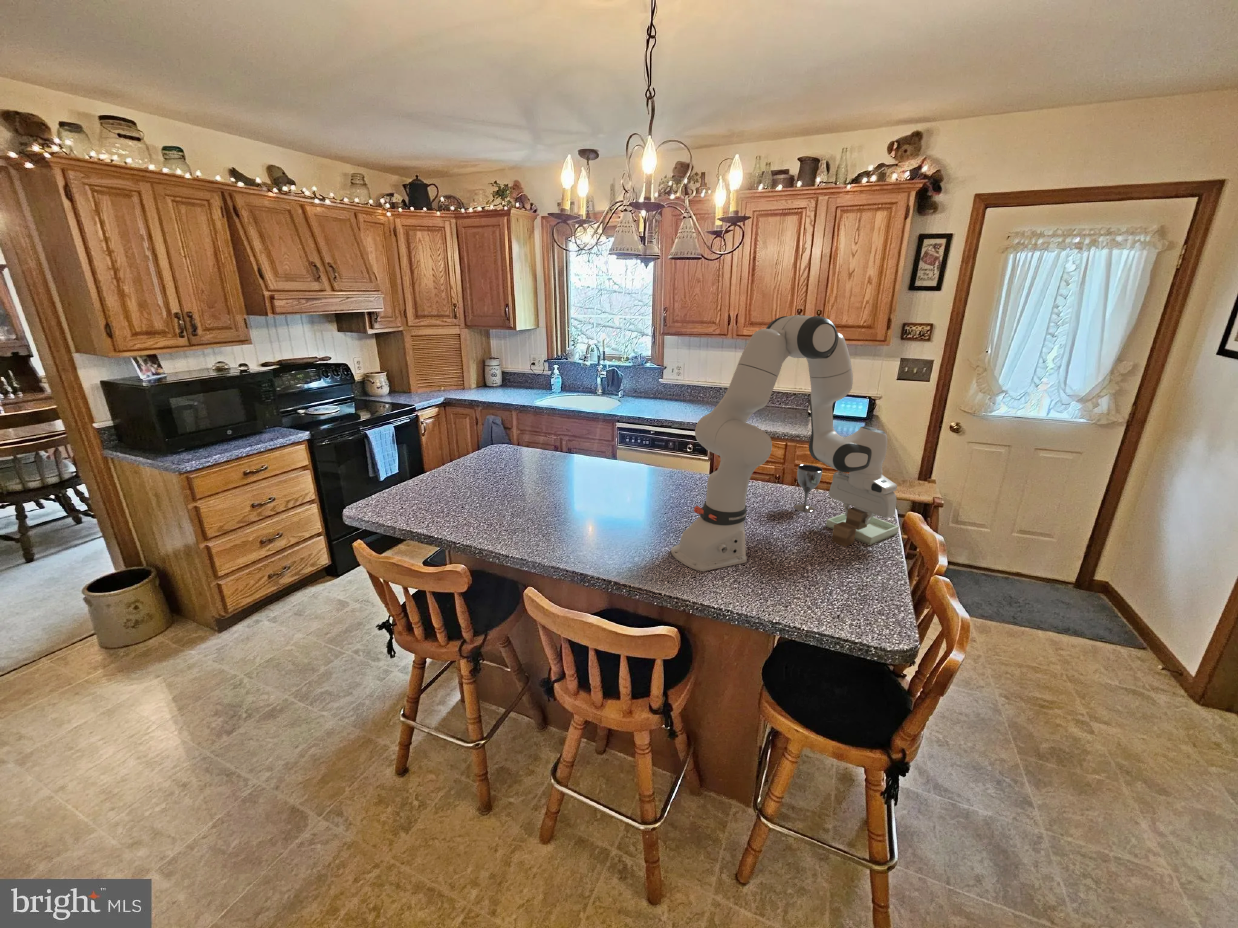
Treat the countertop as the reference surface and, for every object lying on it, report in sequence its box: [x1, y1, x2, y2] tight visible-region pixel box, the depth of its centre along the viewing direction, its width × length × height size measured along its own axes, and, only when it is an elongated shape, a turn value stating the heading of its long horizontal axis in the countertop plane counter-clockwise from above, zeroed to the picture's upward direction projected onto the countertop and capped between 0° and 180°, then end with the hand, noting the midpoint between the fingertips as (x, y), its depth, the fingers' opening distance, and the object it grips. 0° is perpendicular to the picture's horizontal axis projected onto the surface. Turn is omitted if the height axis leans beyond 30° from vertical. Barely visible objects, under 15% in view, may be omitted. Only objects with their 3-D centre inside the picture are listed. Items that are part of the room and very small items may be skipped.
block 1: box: [830, 522, 856, 548], centre depth 150 cm, size 4×4×6 cm
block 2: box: [846, 506, 869, 530], centre depth 156 cm, size 4×4×6 cm
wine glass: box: [793, 463, 823, 513], centre depth 173 cm, size 8×8×15 cm
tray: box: [825, 512, 900, 546], centre depth 159 cm, size 15×15×2 cm
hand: (856, 520), depth 156 cm, fingers open, 5 cm apart
